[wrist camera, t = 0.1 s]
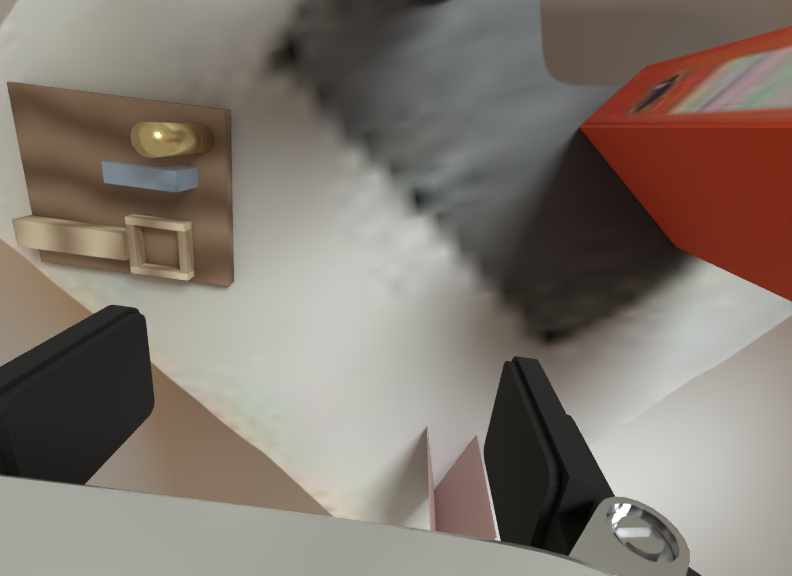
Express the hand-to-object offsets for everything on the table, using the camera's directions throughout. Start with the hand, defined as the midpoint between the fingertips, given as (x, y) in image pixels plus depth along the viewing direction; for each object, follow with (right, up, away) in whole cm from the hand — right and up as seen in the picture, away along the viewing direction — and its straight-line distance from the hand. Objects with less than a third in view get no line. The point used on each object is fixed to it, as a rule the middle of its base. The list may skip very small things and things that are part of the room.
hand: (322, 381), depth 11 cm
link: (-30, +8, +36) cm, 47 cm away
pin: (-18, +18, +32) cm, 41 cm away
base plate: (-27, +13, +36) cm, 47 cm away
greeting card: (+8, -21, +47) cm, 52 cm away
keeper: (-23, +15, +33) cm, 43 cm away
